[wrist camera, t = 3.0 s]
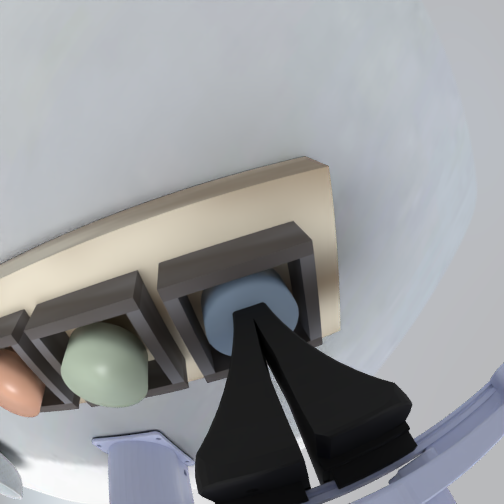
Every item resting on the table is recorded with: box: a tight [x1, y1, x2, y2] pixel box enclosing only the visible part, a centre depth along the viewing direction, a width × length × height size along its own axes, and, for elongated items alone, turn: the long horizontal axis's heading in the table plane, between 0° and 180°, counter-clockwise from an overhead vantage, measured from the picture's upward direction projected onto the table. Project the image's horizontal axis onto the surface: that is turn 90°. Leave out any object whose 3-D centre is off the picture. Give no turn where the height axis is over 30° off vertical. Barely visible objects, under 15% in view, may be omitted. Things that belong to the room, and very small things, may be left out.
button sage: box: [61, 322, 148, 408], centre depth 11 cm, size 4×4×2 cm
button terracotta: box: [0, 348, 46, 417], centre depth 10 cm, size 4×4×2 cm
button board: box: [0, 156, 340, 412], centre depth 13 cm, size 10×24×4 cm, turn 102°
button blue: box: [201, 268, 299, 356], centre depth 13 cm, size 4×4×2 cm
